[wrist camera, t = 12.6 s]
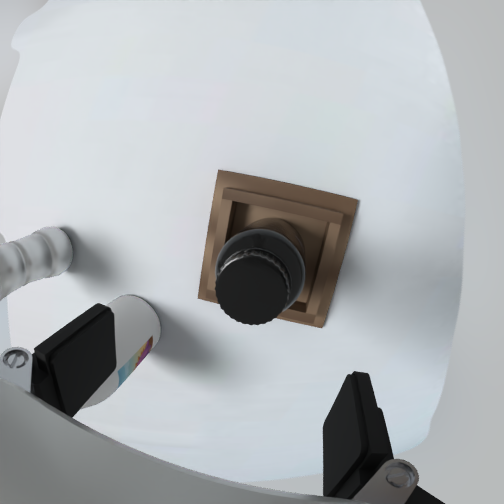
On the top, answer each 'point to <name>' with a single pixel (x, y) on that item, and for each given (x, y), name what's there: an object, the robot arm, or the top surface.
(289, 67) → the top surface
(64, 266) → the plastic bottle
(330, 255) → the walnut stand
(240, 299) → the supplement bottle
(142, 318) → the milk bottle
